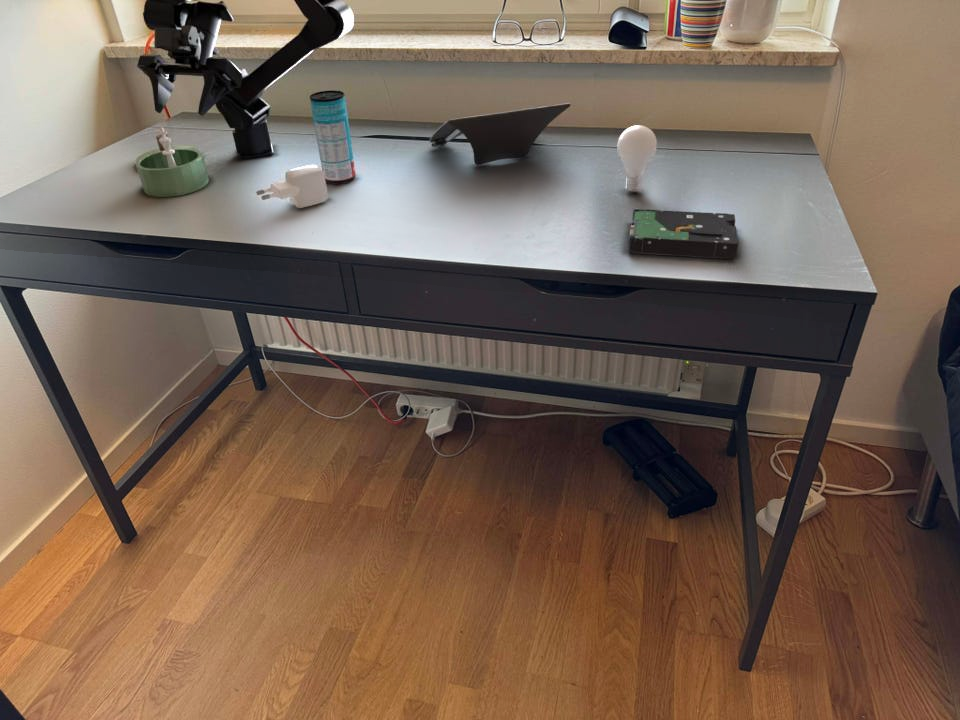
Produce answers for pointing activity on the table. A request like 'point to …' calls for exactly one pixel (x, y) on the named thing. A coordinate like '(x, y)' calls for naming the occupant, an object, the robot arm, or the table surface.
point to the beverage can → (333, 136)
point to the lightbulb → (636, 154)
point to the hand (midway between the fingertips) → (178, 113)
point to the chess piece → (167, 147)
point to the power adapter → (300, 187)
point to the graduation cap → (499, 132)
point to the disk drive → (683, 233)
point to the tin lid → (163, 148)
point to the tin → (172, 173)
